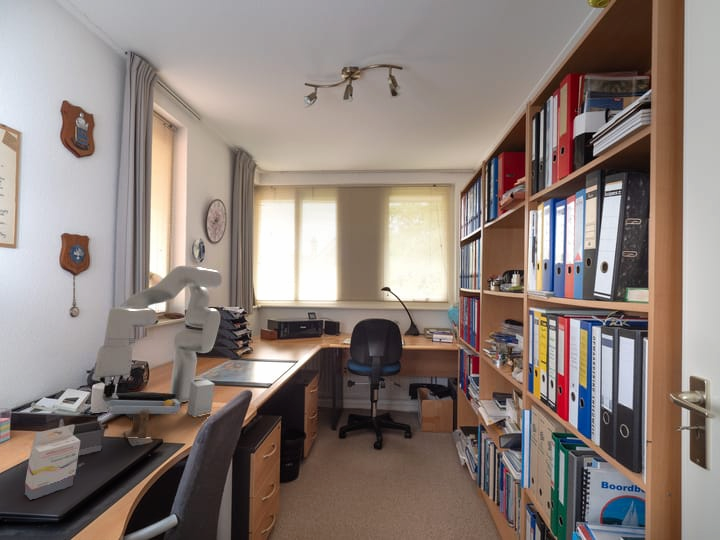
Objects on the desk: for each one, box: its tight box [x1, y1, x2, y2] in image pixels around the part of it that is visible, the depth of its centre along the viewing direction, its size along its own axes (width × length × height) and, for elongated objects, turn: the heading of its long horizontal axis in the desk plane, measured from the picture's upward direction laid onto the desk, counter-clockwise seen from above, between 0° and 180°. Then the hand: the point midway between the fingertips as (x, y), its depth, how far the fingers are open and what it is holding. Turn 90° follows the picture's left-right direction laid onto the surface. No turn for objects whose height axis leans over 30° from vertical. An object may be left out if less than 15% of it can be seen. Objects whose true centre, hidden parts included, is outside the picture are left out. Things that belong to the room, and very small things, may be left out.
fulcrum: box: [123, 410, 151, 438], centre depth 114 cm, size 6×12×10 cm, turn 46°
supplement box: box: [186, 379, 216, 418], centre depth 139 cm, size 7×7×13 cm
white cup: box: [90, 381, 118, 414], centre depth 131 cm, size 8×8×10 cm
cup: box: [57, 418, 106, 450], centre depth 103 cm, size 10×8×9 cm
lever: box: [102, 394, 182, 415], centre depth 118 cm, size 21×15×4 cm
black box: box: [116, 391, 176, 420], centre depth 134 cm, size 18×9×20 cm
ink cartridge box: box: [24, 424, 80, 490], centre depth 84 cm, size 9×5×15 cm, turn 150°
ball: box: [164, 400, 173, 406], centre depth 120 cm, size 3×3×3 cm
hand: (108, 395), depth 115 cm, fingers closed
